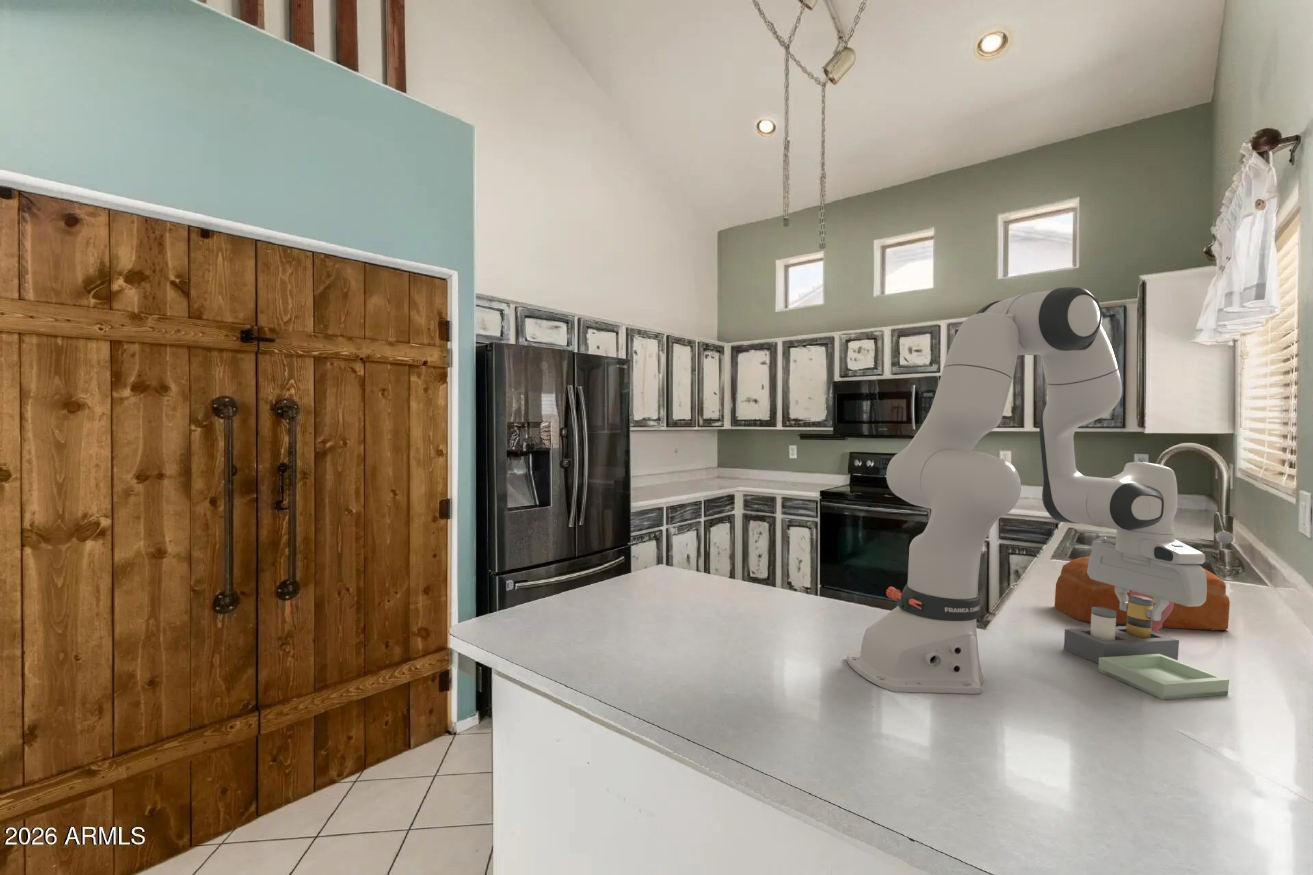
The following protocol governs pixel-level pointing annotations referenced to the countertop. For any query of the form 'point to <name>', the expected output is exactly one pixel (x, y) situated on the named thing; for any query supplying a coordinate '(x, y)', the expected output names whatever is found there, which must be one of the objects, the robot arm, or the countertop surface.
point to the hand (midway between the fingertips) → (1139, 615)
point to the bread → (1085, 593)
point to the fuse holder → (1118, 644)
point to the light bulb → (1164, 614)
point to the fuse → (1103, 623)
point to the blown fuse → (1139, 616)
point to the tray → (1163, 676)
